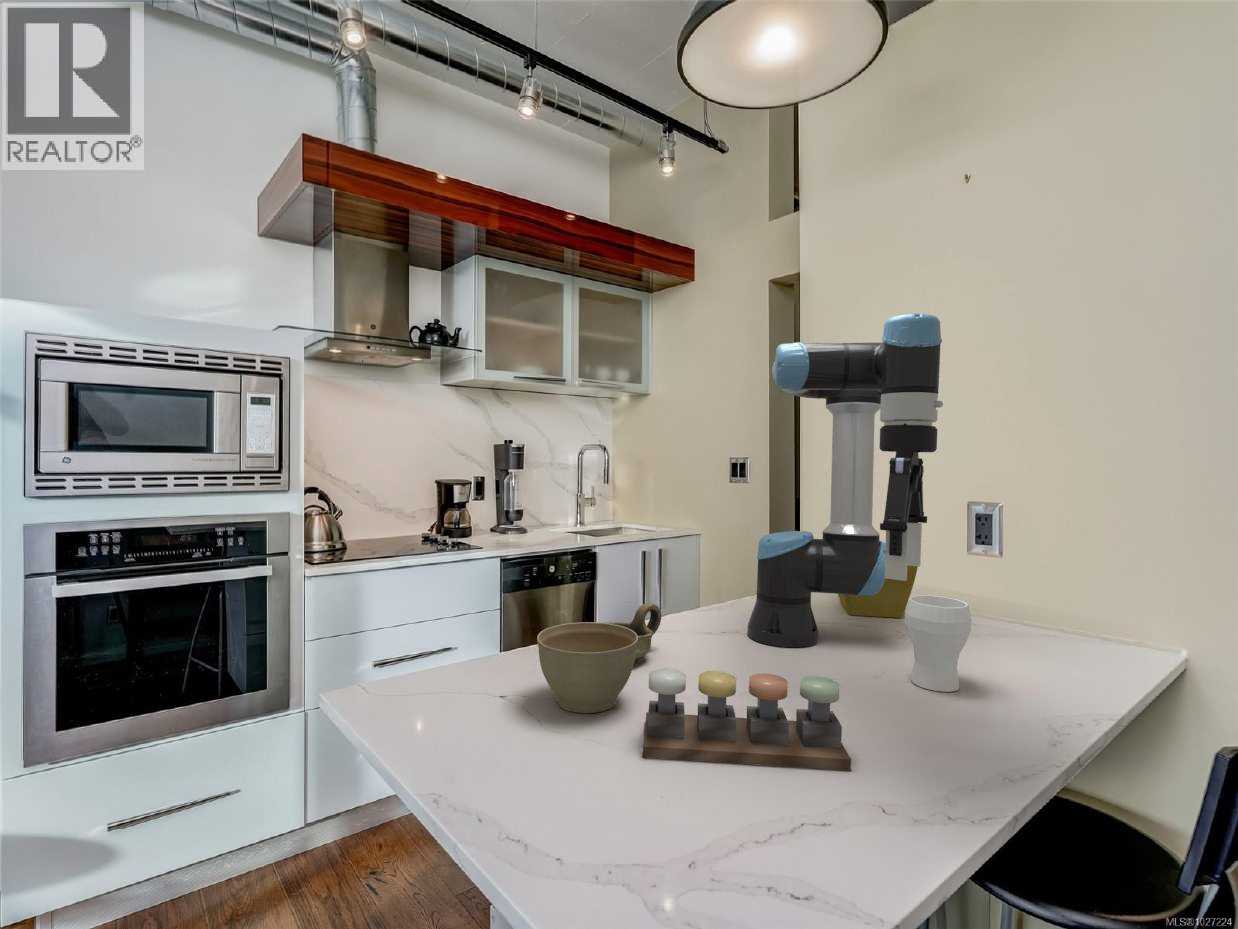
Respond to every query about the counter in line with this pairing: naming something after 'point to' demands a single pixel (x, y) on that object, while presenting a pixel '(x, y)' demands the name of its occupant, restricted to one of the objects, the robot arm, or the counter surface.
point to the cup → (937, 639)
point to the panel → (744, 738)
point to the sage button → (819, 696)
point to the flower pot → (882, 598)
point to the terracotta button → (767, 693)
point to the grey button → (667, 687)
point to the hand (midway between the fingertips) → (903, 572)
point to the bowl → (644, 627)
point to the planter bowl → (587, 663)
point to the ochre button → (717, 690)
